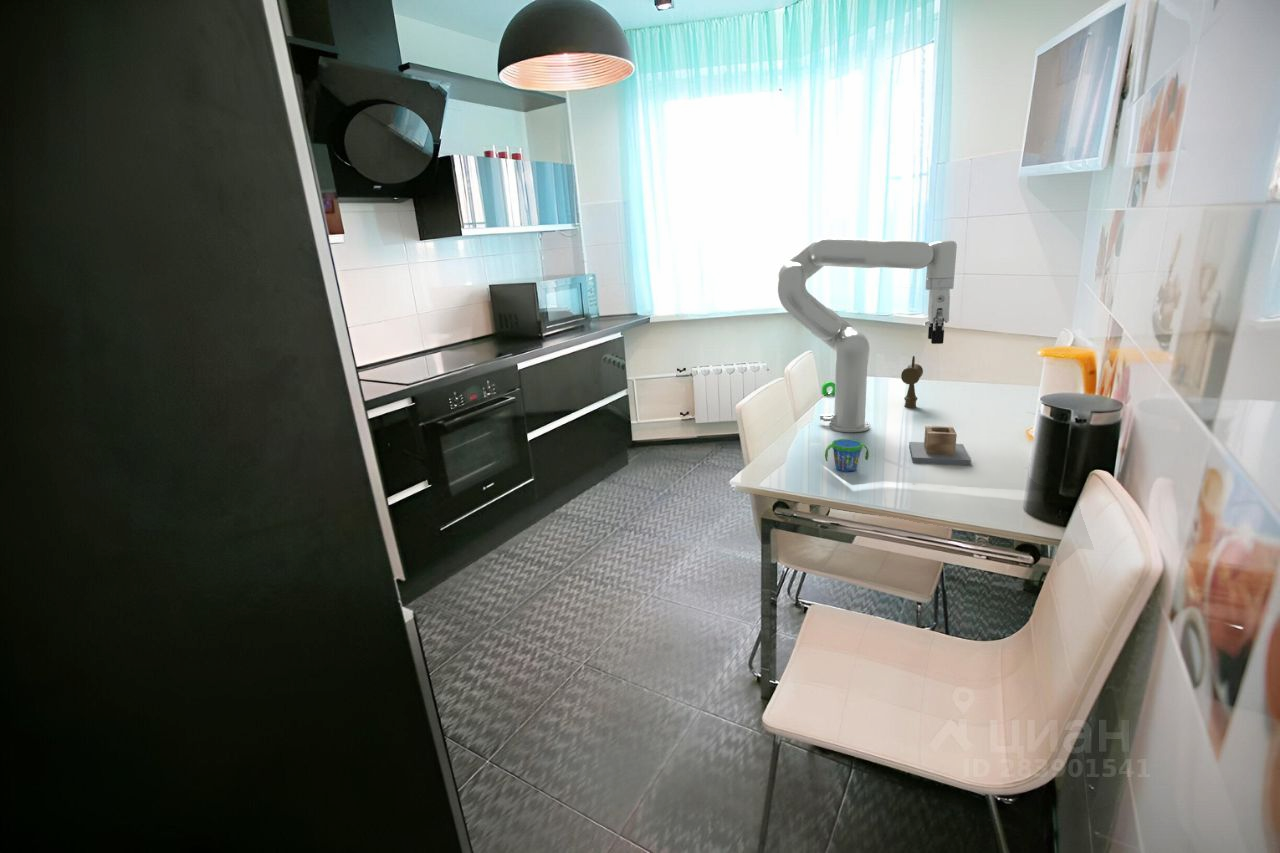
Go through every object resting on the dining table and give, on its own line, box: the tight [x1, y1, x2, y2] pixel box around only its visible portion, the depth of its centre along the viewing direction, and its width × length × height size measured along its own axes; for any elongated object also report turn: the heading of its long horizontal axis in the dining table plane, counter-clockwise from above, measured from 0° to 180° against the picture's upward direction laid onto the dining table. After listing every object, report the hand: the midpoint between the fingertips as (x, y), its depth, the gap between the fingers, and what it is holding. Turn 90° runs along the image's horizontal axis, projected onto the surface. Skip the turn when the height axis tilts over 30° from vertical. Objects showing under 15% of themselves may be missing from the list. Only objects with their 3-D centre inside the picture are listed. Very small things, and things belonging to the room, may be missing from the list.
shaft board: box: [908, 441, 972, 466], centre depth 162 cm, size 14×14×6 cm
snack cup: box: [824, 438, 870, 473], centre depth 157 cm, size 11×8×7 cm
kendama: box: [900, 355, 924, 409], centre depth 204 cm, size 6×10×20 cm, turn 147°
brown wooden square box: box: [923, 425, 958, 455], centre depth 161 cm, size 7×7×6 cm
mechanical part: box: [821, 380, 835, 396], centre depth 225 cm, size 12×6×8 cm, turn 88°
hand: (935, 341), depth 178 cm, fingers open, 9 cm apart
